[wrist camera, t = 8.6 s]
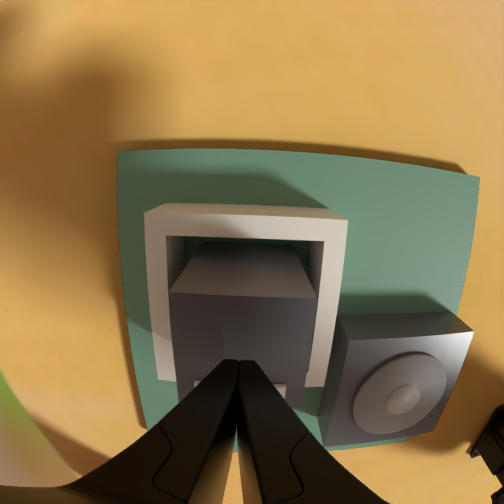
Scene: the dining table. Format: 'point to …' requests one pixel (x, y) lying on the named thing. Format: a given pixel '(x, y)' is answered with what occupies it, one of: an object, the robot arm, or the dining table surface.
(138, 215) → the board
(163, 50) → the dining table surface
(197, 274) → the plug
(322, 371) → the header socket
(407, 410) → the fan housing
